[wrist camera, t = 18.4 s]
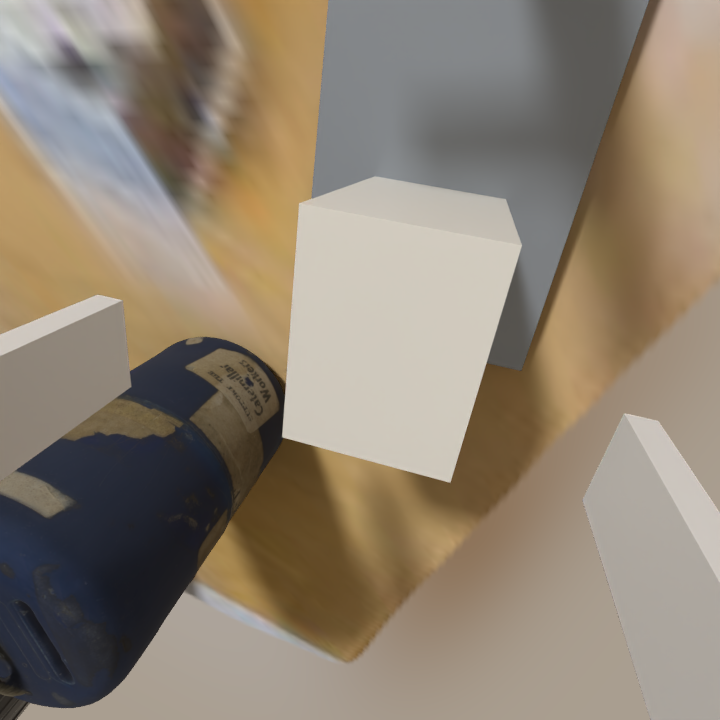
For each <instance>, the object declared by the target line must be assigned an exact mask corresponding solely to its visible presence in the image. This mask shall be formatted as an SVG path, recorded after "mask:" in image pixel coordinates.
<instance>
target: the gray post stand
mask: <svg viewBox="0 0 720 720" xmlns="http://www.w3.org/2000/svg"><path fill="white" fill-rule="evenodd" d="M648 2H649V0H329V1H328V12H327V24H326V36H325V47H324V59H323V71H322V83H321V94H320V106H319V118H318V129H317V141H316V153H315V165H314V176H313V188H312V199H313V198H316V197H318V196H321V195H324V194H327V193H330V192H332V191H335V190H338V189H341V188H344V187H346V186H349V185H352V184H355V183H358V182H360V181H363V180H366V179H369V178H372V177H374V176H376V177H382V178H388V179H394V180H399V181H405V182H411V183H416V184H422V185H428V186H434V187H439V188H445V189H451V190H456V191H462V192H468V193H474V194H479V195H485V196H491V197H496V198H502V199H506V201H507V204H508V207H509V210H510V213H511V215H512V218H513V221H514V224H515V227H516V230H517V233H518V236H519V238H520V241H521V244H522V247H521V250H520V253H519V257H518V260H517V263H516V267H515V270H514V273H513V277H512V280H511V283H510V287H509V290H508V293H507V297H506V300H505V303H504V307H503V310H502V313H501V316H500V320H499V323H498V326H497V330H496V333H495V336H494V340H493V343H492V346H491V350H490V353H489V356H488V360H487V363H489V364H493V365H497V366H502V367H506V368H511V369H515V370H519V371H521V370H522V367H523V365H524V362H525V359H526V356H527V353H528V350H529V347H530V344H531V341H532V338H533V336H534V333H535V330H536V327H537V324H538V321H539V318H540V315H541V312H542V309H543V307H544V304H545V301H546V298H547V295H548V292H549V289H550V286H551V283H552V280H553V278H554V275H555V272H556V269H557V266H558V263H559V260H560V257H561V254H562V251H563V248H564V246H565V243H566V240H567V237H568V234H569V231H570V228H571V225H572V222H573V219H574V217H575V214H576V211H577V208H578V205H579V202H580V199H581V196H582V193H583V190H584V188H585V185H586V182H587V179H588V176H589V173H590V170H591V167H592V164H593V161H594V159H595V156H596V153H597V150H598V147H599V144H600V141H601V138H602V135H603V132H604V129H605V127H606V124H607V121H608V118H609V115H610V112H611V109H612V106H613V103H614V100H615V98H616V95H617V92H618V89H619V86H620V83H621V80H622V77H623V74H624V71H625V69H626V66H627V63H628V60H629V57H630V54H631V51H632V48H633V45H634V42H635V40H636V37H637V34H638V31H639V28H640V25H641V22H642V19H643V16H644V13H645V10H646V8H647V5H648Z"/></svg>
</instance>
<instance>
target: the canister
mask: <svg viewBox="0 0 720 720" xmlns="http://www.w3.org/2000/svg"><path fill="white" fill-rule="evenodd" d="M130 379H131V387H130V388H129V389H128V390H126V391H125V392H123V393H122V394H121V395H119V396H118V397H116V398H115V399H114V400H112V401H111V402H110V403H108V404H107V405H105V406H104V407H103V408H101V409H100V410H98V411H97V412H96V413H94V414H93V415H91V416H90V417H89V418H87V419H86V420H85V421H83V422H82V423H80V424H79V425H78V426H76V427H75V428H73V429H72V430H71V431H69V432H68V433H67V434H65V435H64V436H62V437H61V438H60V439H58V440H57V441H55V442H54V443H53V444H51V445H50V446H49V447H47V448H46V449H44V450H43V451H42V452H40V453H39V454H37V455H36V456H35V457H33V458H32V459H30V460H29V461H28V462H26V463H25V464H24V465H22V466H21V467H19V468H18V469H17V470H15V471H14V472H12V473H11V474H10V475H8V476H7V477H6V478H4V479H3V480H1V481H0V694H2V695H5V696H11V697H14V698H17V699H20V700H23V701H26V702H29V703H33V704H37V705H41V706H48V707H57V708H76V707H81V706H85V705H89V704H92V703H94V702H96V701H99V700H100V699H102V698H103V697H105V696H106V695H108V694H109V693H110V692H112V691H113V689H115V688H116V687H117V686H118V685H119V684H120V683H121V682H122V681H123V680H124V679H125V678H126V676H127V675H128V674H129V672H130V671H131V669H132V668H133V667H134V665H135V664H136V662H137V661H138V659H139V658H140V657H141V655H142V654H143V652H144V651H145V649H146V648H147V647H148V645H149V644H150V642H151V641H152V639H153V638H154V636H155V635H156V633H157V632H158V630H159V628H160V627H161V625H162V623H163V622H164V620H165V619H166V617H167V616H168V614H169V613H170V611H171V610H172V608H173V607H174V605H175V604H176V602H177V601H178V599H179V598H180V596H181V595H182V593H183V592H184V590H185V589H186V587H187V586H188V584H189V583H190V582H191V581H192V580H193V578H194V577H195V575H196V573H197V571H198V570H199V568H200V567H201V565H202V564H203V562H204V561H205V559H206V558H207V556H208V555H209V553H210V552H211V550H212V549H213V547H214V546H215V545H216V543H217V542H218V540H219V539H220V537H221V536H222V534H223V533H224V531H225V529H226V527H227V525H228V523H229V521H230V520H231V518H232V517H233V515H234V514H235V512H236V511H237V509H238V508H239V506H240V505H241V503H242V502H243V500H244V499H245V497H246V496H247V494H248V493H249V491H250V490H251V488H252V487H253V486H254V484H255V483H256V481H257V480H258V478H259V476H260V474H261V473H262V472H263V470H264V468H265V467H266V465H267V464H268V462H269V461H270V459H271V458H272V457H273V455H274V454H275V452H276V451H277V449H278V447H279V446H280V444H281V442H282V440H283V437H282V431H283V418H284V404H285V396H284V393H283V391H282V388H281V386H280V384H279V382H278V380H277V379H276V377H275V376H274V374H273V373H272V372H271V371H270V369H269V368H268V367H267V366H266V365H265V364H264V363H263V362H262V361H261V360H260V359H259V358H258V357H257V356H256V355H254V354H253V353H251V352H250V351H248V350H247V349H245V348H243V347H241V346H239V345H237V344H235V343H232V342H229V341H226V340H223V339H218V338H210V337H196V338H190V339H186V340H183V341H180V342H177V343H175V344H173V345H171V346H170V347H168V348H167V349H165V350H164V351H162V352H161V353H159V354H158V355H156V356H155V357H153V358H151V359H150V360H148V361H147V362H145V363H143V364H141V365H140V366H138V367H136V368H135V369H133V370H131V371H130Z"/></svg>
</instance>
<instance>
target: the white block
mask: <svg viewBox="0 0 720 720" xmlns="http://www.w3.org/2000/svg"><path fill="white" fill-rule="evenodd" d="M521 247H522V244H521V241H520V238H519V236H518V233H517V230H516V227H515V224H514V221H513V218H512V215H511V213H510V210H509V207H508V204H507V201H506V199H502V198H496V197H491V196H485V195H479V194H474V193H468V192H462V191H456V190H451V189H445V188H439V187H434V186H428V185H422V184H416V183H411V182H405V181H399V180H394V179H388V178H382V177H376V176H374V177H372V178H369V179H366V180H363V181H360V182H358V183H355V184H352V185H349V186H346V187H344V188H341V189H338V190H335V191H332V192H330V193H327V194H324V195H321V196H318V197H316V198H313V199H310V200H307V201H304V202H302V203H299V215H298V228H297V242H296V255H295V269H294V282H293V296H292V310H291V323H290V337H289V350H288V364H287V377H286V391H285V404H284V418H283V431H282V437H283V438H287V439H290V440H294V441H298V442H301V443H305V444H309V445H312V446H316V447H320V448H324V449H327V450H331V451H335V452H338V453H342V454H346V455H349V456H353V457H357V458H360V459H364V460H368V461H372V462H375V463H379V464H383V465H386V466H390V467H394V468H397V469H401V470H405V471H409V472H412V473H416V474H420V475H423V476H427V477H431V478H434V479H438V480H442V481H446V482H449V483H450V482H451V479H452V476H453V472H454V469H455V466H456V462H457V459H458V456H459V452H460V449H461V446H462V442H463V439H464V436H465V433H466V429H467V426H468V423H469V419H470V416H471V413H472V409H473V406H474V403H475V399H476V396H477V393H478V389H479V386H480V383H481V379H482V376H483V373H484V370H485V366H486V363H487V360H488V356H489V353H490V350H491V346H492V343H493V340H494V336H495V333H496V330H497V326H498V323H499V320H500V316H501V313H502V310H503V307H504V303H505V300H506V297H507V293H508V290H509V287H510V283H511V280H512V277H513V273H514V270H515V267H516V263H517V260H518V257H519V253H520V250H521Z"/></svg>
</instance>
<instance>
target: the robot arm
mask: <svg viewBox="0 0 720 720" xmlns="http://www.w3.org/2000/svg"><path fill="white" fill-rule="evenodd" d="M130 387H131V379H130V369H129V359H128V349H127V338H126V328H125V318H124V308H123V300H119V299H115V298H110V297H106V296H101V295H96V296H93V297H91V298H88V299H86V300H83V301H81V302H78V303H76V304H74V305H71V306H69V307H66V308H64V309H61V310H59V311H56V312H54V313H52V314H49V315H47V316H44V317H42V318H39V319H37V320H35V321H32V322H30V323H27V324H25V325H22V326H20V327H17V328H15V329H13V330H10V331H8V332H5V333H3V334H0V481H1V480H3V479H4V478H6V477H7V476H8V475H10V474H11V473H12V472H14V471H15V470H17V469H18V468H19V467H21V466H22V465H24V464H25V463H26V462H28V461H29V460H30V459H32V458H33V457H35V456H36V455H37V454H39V453H40V452H42V451H43V450H44V449H46V448H47V447H49V446H50V445H51V444H53V443H54V442H55V441H57V440H58V439H60V438H61V437H62V436H64V435H65V434H67V433H68V432H69V431H71V430H72V429H73V428H75V427H76V426H78V425H79V424H80V423H82V422H83V421H85V420H86V419H87V418H89V417H90V416H91V415H93V414H94V413H96V412H97V411H98V410H100V409H101V408H103V407H104V406H105V405H107V404H108V403H110V402H111V401H112V400H114V399H115V398H116V397H118V396H119V395H121V394H122V393H123V392H125V391H126V390H128V389H129V388H130ZM583 504H584V507H585V510H586V514H587V516H588V520H589V523H590V527H591V529H592V533H593V536H594V539H595V542H596V546H597V549H598V552H599V556H600V559H601V562H602V565H603V568H604V571H605V575H606V578H607V581H608V585H609V587H610V591H611V594H612V598H613V601H614V604H615V607H616V610H617V614H618V617H619V620H620V623H621V626H622V629H623V633H624V636H625V639H626V642H627V646H628V649H629V652H630V655H631V658H632V661H633V665H634V668H635V672H636V675H637V678H638V681H639V685H640V688H641V691H642V694H643V697H644V701H645V704H646V707H647V710H648V713H649V717H650V720H720V512H719V511H718V510H717V508H716V506H715V505H714V503H713V502H712V500H711V499H710V497H709V496H708V494H707V493H706V491H705V490H704V488H703V487H702V485H701V484H700V482H699V481H698V479H697V478H696V477H695V475H694V473H693V472H692V470H691V469H690V467H689V466H688V464H687V463H686V462H685V460H684V458H683V457H682V455H681V454H680V452H679V451H678V450H677V448H676V447H675V445H674V444H673V442H672V441H671V439H670V438H669V436H668V435H667V433H666V432H665V430H664V429H663V427H662V426H661V424H660V423H659V421H657V420H653V419H648V418H644V417H639V416H635V415H630V414H626V413H624V414H623V416H622V418H621V421H620V423H619V425H618V427H617V429H616V431H615V433H614V435H613V437H612V439H611V441H610V444H609V446H608V448H607V450H606V452H605V454H604V456H603V458H602V461H601V462H600V464H599V466H598V469H597V471H596V473H595V475H594V477H593V479H592V481H591V483H590V485H589V487H588V489H587V491H586V494H585V496H584V498H583ZM29 704H30V703H29V702H26V701H23V700H20V699H17V698H14V697H11V696H5V695H2V694H0V720H17V719H18V717H19V716H20V715H21V714H22V712H23V711H24V710H25V709H26V707H27V706H28V705H29Z"/></svg>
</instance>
